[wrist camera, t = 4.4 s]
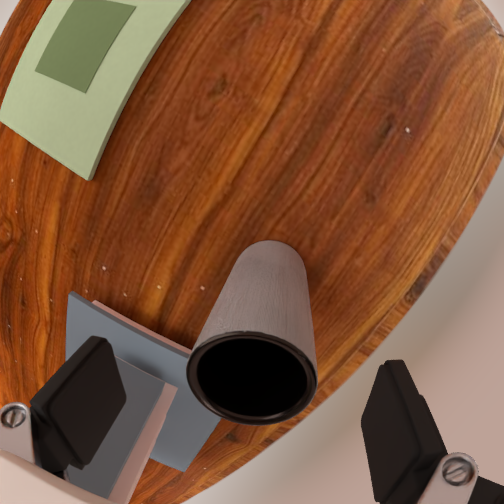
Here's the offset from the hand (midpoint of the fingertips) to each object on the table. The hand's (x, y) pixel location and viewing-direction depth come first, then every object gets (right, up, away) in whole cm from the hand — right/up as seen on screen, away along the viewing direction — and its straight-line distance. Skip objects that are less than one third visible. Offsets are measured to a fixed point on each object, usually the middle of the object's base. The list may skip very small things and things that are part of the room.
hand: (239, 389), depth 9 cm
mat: (-12, +20, +6) cm, 25 cm away
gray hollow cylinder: (+2, +3, +10) cm, 11 cm away
